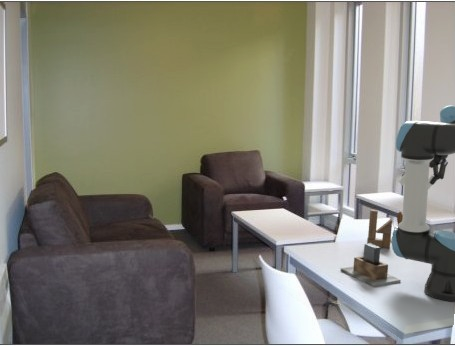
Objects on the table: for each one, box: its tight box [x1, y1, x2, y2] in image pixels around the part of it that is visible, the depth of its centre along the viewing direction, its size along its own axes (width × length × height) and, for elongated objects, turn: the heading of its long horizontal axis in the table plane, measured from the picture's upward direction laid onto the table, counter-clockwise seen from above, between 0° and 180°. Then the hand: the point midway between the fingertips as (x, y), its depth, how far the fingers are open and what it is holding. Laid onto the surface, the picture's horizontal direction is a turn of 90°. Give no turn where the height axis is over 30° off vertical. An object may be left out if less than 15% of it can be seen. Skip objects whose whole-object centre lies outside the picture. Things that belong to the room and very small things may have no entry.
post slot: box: [340, 255, 402, 288], centre depth 214 cm, size 20×14×6 cm
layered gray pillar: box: [363, 243, 381, 265], centre depth 214 cm, size 6×3×12 cm, turn 27°
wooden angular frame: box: [366, 209, 393, 249], centre depth 257 cm, size 4×11×18 cm, turn 78°
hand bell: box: [390, 211, 403, 244], centre depth 265 cm, size 8×8×16 cm
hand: (412, 186), depth 223 cm, fingers open, 13 cm apart
